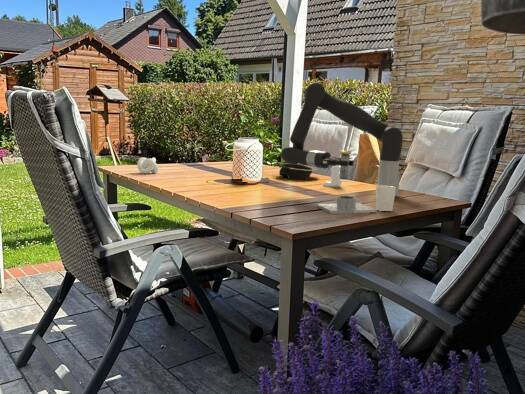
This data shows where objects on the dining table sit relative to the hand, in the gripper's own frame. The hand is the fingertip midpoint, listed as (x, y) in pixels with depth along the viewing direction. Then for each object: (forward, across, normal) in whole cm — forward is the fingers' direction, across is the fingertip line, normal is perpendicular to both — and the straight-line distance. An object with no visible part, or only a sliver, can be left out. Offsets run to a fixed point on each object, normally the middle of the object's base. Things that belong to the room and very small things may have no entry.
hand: (350, 163), depth 211 cm
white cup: (+17, +2, +18) cm, 25 cm away
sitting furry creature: (-33, +36, +18) cm, 52 cm away
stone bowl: (-66, +44, +19) cm, 82 cm away
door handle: (-71, +10, +19) cm, 74 cm away
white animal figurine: (-126, -20, +19) cm, 129 cm away
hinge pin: (-3, 0, +7) cm, 8 cm away
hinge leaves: (+6, -10, +18) cm, 22 cm away
